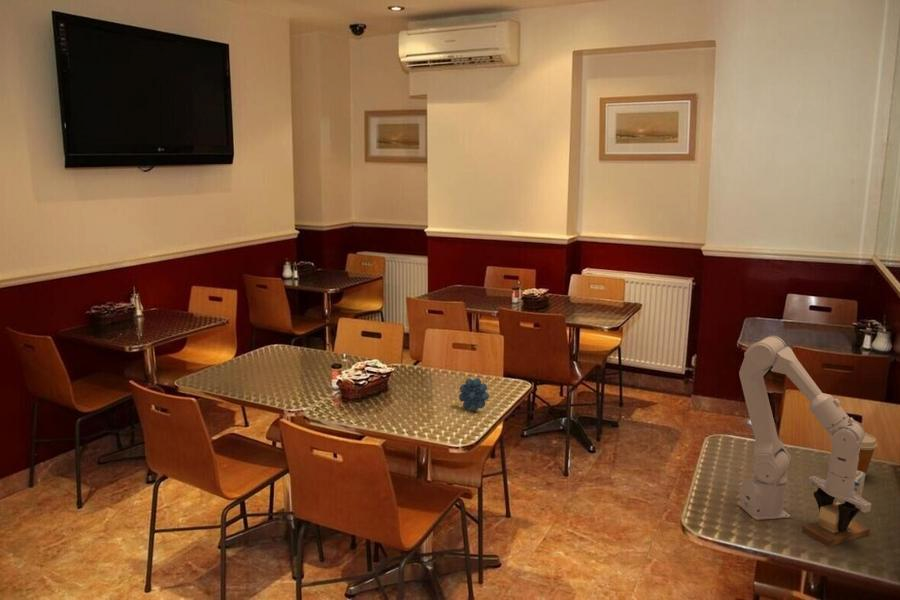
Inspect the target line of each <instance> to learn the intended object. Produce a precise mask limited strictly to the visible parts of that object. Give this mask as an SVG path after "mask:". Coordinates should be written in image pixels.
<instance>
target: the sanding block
mask: <svg viewBox="0 0 900 600" xmlns="http://www.w3.org/2000/svg"><path fill="white" fill-rule="evenodd" d="M836 502H837V501H836ZM836 502H833V504H830V505H826V506H822V507H820V512H819V515H818V521H817V522H818V527H820V528H822V529H823V530H825V531H827V532H829V533H831V534H832V535H834V534H837V533H840V531H838V523H839V509H838V505H839V504H840V503H838V502H837V503H836ZM852 520H853V519H852ZM852 520H851V522H852ZM851 522H850V524H849V526H848V528H847V530H850V528H851ZM847 530H846V531H847ZM843 532H844V531H843Z"/></svg>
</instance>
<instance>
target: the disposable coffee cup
mask: <svg viewBox="0 0 900 600" xmlns="http://www.w3.org/2000/svg"><path fill="white" fill-rule="evenodd" d="M859 446H860V453H859V461H858V467H857V470H858V471H861V472H864V473H865V476H866V475H867V473H868V468H869V466H870V463H871V460H872V458H873V454H874V451H875V449H876V448H877V446H878V443H877V439H876V437H875V436H873V435H871V434H869V433H867V432H865V437H864V439H863V441H862V442H861V443H860V445H859Z"/></svg>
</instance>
